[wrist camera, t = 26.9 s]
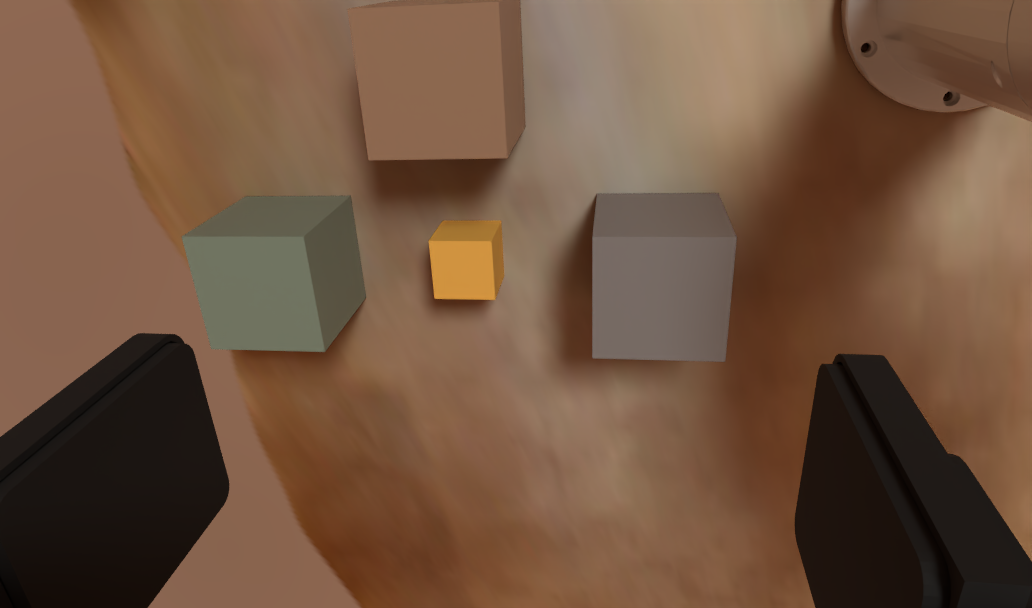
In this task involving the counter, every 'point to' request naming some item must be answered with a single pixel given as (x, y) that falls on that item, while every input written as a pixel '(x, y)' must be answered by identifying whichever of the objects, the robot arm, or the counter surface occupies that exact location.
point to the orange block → (467, 260)
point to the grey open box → (661, 277)
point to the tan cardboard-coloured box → (439, 78)
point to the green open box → (277, 272)
